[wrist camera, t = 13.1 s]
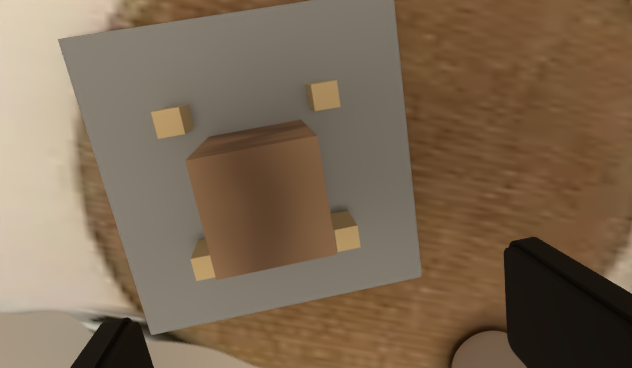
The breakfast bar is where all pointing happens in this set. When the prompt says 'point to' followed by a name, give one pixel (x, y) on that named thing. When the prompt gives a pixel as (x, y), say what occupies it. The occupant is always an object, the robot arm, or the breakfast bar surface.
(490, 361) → the cup
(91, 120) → the base board
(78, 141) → the breakfast bar surface
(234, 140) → the walnut block
